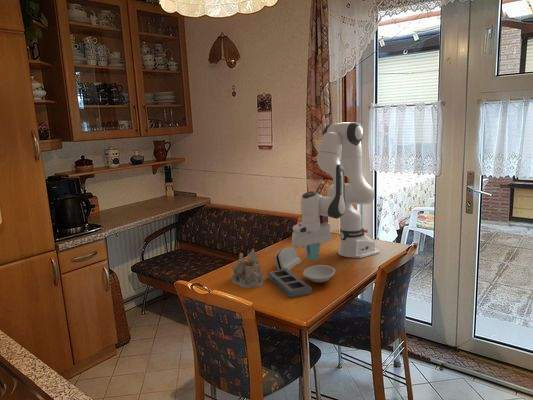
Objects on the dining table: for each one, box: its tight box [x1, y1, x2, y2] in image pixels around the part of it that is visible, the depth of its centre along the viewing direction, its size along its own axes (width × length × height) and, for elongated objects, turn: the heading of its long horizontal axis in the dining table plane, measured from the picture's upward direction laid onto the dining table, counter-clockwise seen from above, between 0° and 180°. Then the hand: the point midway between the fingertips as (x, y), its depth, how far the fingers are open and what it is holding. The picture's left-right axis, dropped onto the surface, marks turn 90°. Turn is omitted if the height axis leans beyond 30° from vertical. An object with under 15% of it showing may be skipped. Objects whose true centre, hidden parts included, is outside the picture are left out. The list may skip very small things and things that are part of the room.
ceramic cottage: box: [231, 248, 265, 289], centre depth 195 cm, size 16×16×15 cm
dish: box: [302, 264, 336, 283], centre depth 191 cm, size 18×14×5 cm
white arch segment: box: [274, 246, 302, 271], centre depth 215 cm, size 17×5×10 cm, turn 148°
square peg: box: [306, 243, 320, 262], centre depth 205 cm, size 4×4×8 cm
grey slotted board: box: [267, 269, 312, 299], centre depth 188 cm, size 10×26×3 cm, turn 21°
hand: (312, 252), depth 205 cm, fingers closed on square peg, 4 cm apart
